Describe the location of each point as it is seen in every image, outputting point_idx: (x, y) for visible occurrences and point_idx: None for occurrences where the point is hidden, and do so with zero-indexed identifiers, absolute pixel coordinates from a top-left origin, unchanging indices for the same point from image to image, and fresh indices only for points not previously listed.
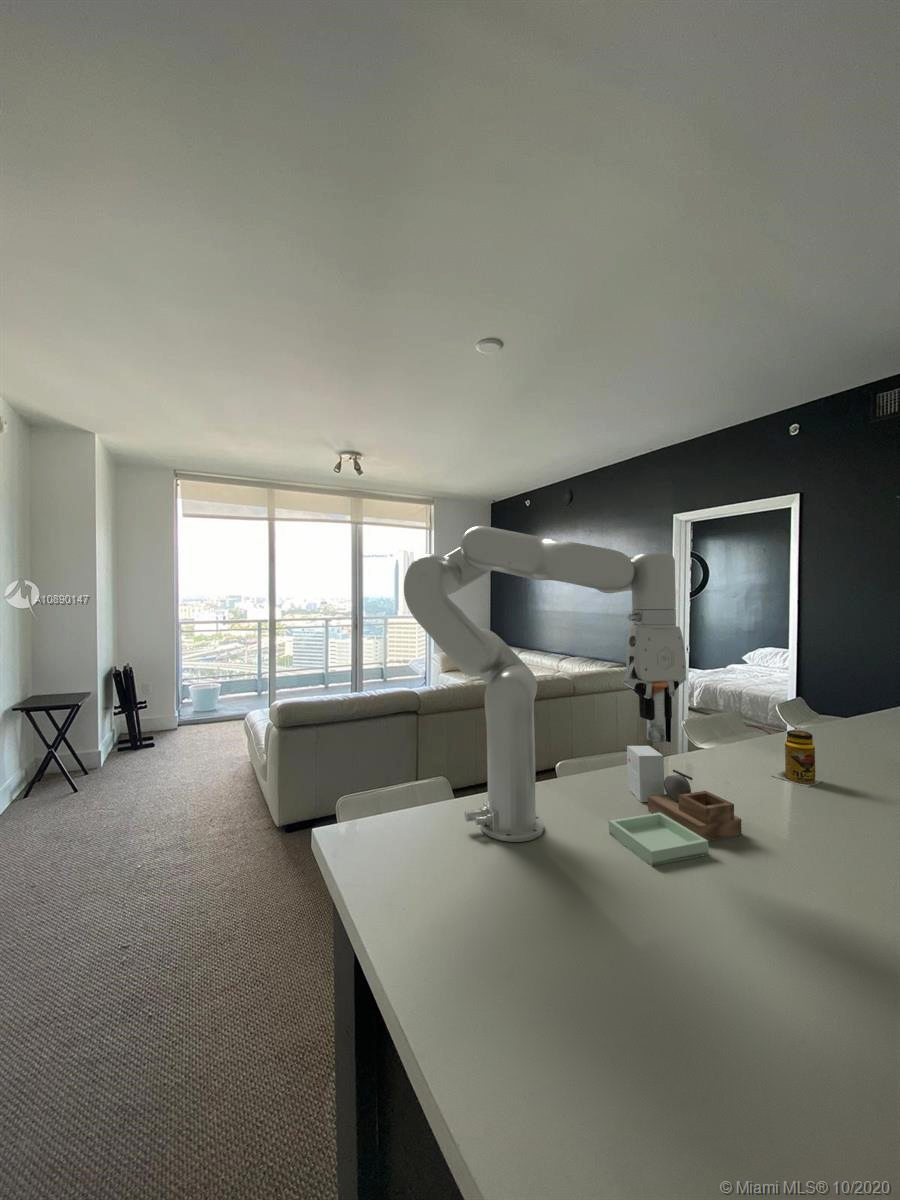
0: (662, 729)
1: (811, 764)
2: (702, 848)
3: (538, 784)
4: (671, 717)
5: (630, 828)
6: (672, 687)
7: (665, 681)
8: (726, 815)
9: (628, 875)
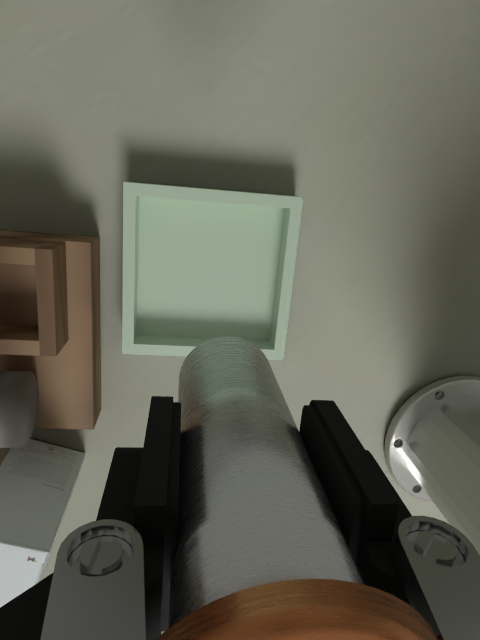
0: (235, 362)
1: None
2: (144, 183)
3: None
4: (155, 396)
5: None
6: (79, 621)
7: None
8: None
9: (368, 187)
